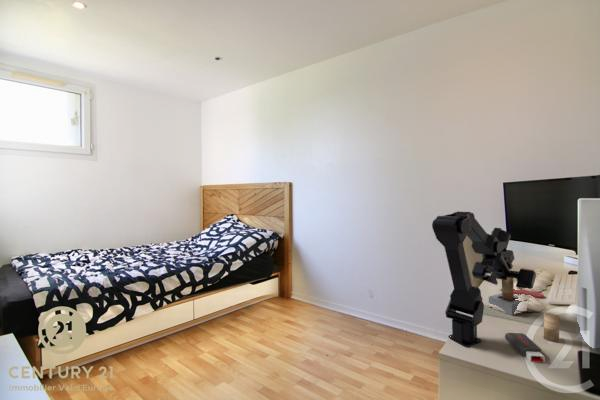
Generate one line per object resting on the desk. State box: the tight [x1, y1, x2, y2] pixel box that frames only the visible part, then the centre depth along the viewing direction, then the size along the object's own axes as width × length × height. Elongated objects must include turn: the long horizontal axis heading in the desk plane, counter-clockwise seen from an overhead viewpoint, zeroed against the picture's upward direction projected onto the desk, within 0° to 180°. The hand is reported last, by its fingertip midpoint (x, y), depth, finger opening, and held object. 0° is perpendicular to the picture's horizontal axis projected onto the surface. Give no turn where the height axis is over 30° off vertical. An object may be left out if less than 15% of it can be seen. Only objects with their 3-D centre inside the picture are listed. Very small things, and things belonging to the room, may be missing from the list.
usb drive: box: [504, 332, 546, 363], centre depth 86 cm, size 5×12×3 cm, turn 169°
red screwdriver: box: [499, 288, 545, 299], centre depth 125 cm, size 4×2×15 cm
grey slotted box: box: [488, 292, 528, 316], centre depth 112 cm, size 8×8×4 cm
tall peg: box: [501, 277, 515, 302], centre depth 112 cm, size 4×4×13 cm
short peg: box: [543, 312, 560, 343], centre depth 90 cm, size 4×4×7 cm
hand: (509, 286), depth 112 cm, fingers open, 8 cm apart
